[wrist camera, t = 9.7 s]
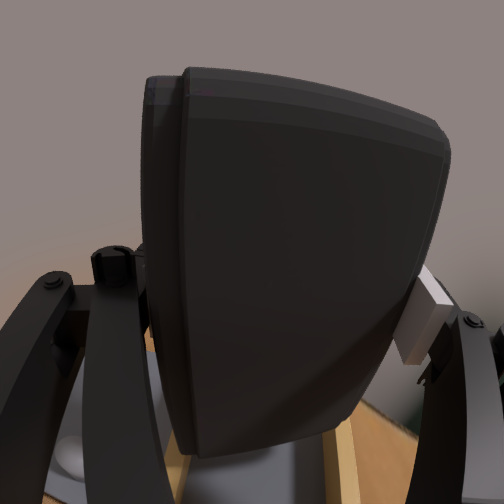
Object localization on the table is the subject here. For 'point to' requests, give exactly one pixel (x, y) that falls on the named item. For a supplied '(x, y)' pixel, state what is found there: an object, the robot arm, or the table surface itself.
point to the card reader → (278, 248)
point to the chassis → (220, 464)
